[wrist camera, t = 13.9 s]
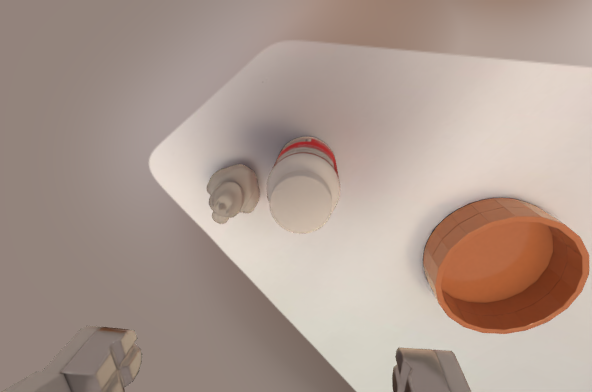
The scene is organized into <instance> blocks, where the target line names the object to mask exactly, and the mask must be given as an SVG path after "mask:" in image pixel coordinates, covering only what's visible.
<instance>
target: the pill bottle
mask: <svg viewBox="0 0 592 392" xmlns="http://www.w3.org/2000/svg"><path fill="white" fill-rule="evenodd" d="M339 195H340V182H339V177H338V172H337V166H336V161H335V157H334V154H333V152H332V150H331V149H330V148H329V146H328V145H327V144H326V143H324V142H323V141H321V140H319V139H317V138H314V137H299V138H296V139H294V140H292V141H290V142H289V143H287V144H286V145H285V146H284V148H283V149H282V150H281V152H280V154H279V156H278V158H277V160H276V162H275V164H274V167H273V169H272V171H271V172H270V175H269V177H268V181H267V197H268V200H269V203H270V210H271V214H272V216H273V218H274V219H275V221H276V222H277V223H278V224H279V225H280V226H281V227H282V228H284V229H286V230H288V231H290V232H293V233H301V234H302V233H310V232H313V231H316V230H317V229H319V228H321V227H322V226H323V225H324V224H325V223H326V222H327V220H328V219H329V217H330V215H331V212H332V211H333V210H334V208H335V207H336V205H337V202H338V200H339Z"/></svg>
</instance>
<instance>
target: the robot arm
mask: <svg viewBox="0 0 592 392" xmlns="http://www.w3.org/2000/svg"><path fill="white" fill-rule="evenodd" d="M136 340H137V335H136V333H135V331H134V330H128V329H118V328H108V327H96V326H86V327H84V328H82V329H80V330H79V332H78V333H77V334H76V335H75V336H74V337H73V338H72V339H71V340H70V341H69V342H68V343H67V345H66V346H65V347H64V348H63V349H62V350H61V351H60V352H59V353H58V354H57V355H56V357H55V358H54V359H53V360H52V361H51V362H50V363H49V364H48V365H47V366H46V368H44V370H43V371H42V372H35V373H33V374H31V375H30V376H28V377H26V378H25V379H23V380H21V381H19V382H18V383H16V384H14V385H12V386H10V387H9V388H7V389H5V390H3V391H2V392H124V387H126V386H127V385H129V384H130V383H131V382H133V381H134V379H135V377H136V375H137V374H138V372H139V369H140V366H141V362H142V353H141V349H140V348H139V347H138V346H137V345H136V344H135V341H136ZM396 361H397V365H396V366H395V367H394V368H393V392H471V390H470V388H469V385H468V383H467V381H466V379H465V376H464V374H463V372H462V370H461V368H460V365H459V363H458V361H457V359H456V356H455V354H454V353H453V352H452V351H443V350H432V349H414V348H398V349H397V351H396Z"/></svg>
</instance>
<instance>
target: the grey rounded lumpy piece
mask: <svg viewBox="0 0 592 392" xmlns="http://www.w3.org/2000/svg"><path fill="white" fill-rule="evenodd" d="M207 192H208V193H209V194H210V195H211V196H210V199H209V205H210V207H211V209H212V210H213V213H212V218H213V220H214V221H215V222H217V223H220V224H224V223H226V222H227V221H228V219H229V218H231V217H234V216H235V215H237V214H238V213H239V212H244V213H251V212H252V211H253V210H254V208H255V207H256V205H257V203H258V201H259V197H260V191H259V187H258V180H257V178H256V175H255V173H254V171H252V170H251V169H250V168H248V167H246V166H244V165H241V164H238V165H233V166H230V167H228V168H224V169H221V170H219V171H217V172H216V173H215V174H213V175H212V177H211V178H210V180H209V183H208V185H207Z"/></svg>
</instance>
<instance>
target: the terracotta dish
mask: <svg viewBox="0 0 592 392" xmlns="http://www.w3.org/2000/svg"><path fill="white" fill-rule="evenodd" d="M423 265H424V270H425V274H426V278H427V280H428V282H429V284H430V286H431V288H432V290H433V292H434V294H435V296H436V299H437V301H438V303H439V304H440V306H441V307H442V308H443V310H444V311H445V313H446V314H447V315H448V316H449V317H450V318H451V319H453V320H454V321H456V322H457V323H459V324H460V325H462V326H463V327H466V328H469V329H472V330H475V331H479V332H482V333H497V334H507V333H513V332H519V331H525V330H528V329H531V328H533V327H536V326H538V325H541V324H544V323H546V322H548V321H550V320H551V319H553V318H554V317H556V316H557V315H559V314H560V313H561V312H563V311H564V310H566V309H567V308H568V307H569V306H570V305H571V304H572V302H573V301H574V300H575V299H576V298H577V297H578V295H579V294H580V293H581V292H582V290H583V287H584V285H585V282H586V280H587V278H588V275H589V254H588V252H587V250H586V248H585V246H584V244H583V242H582V240H581V238H580V236H578V235H577V234H576V233H575V232H573V231H572V230H571V229H570V228H568V227H567V226H566V225H565V224H563V223H562V222H560V221H558V220H557V219H555V218H554V217H552V216H551V215H549V214H548V213H546V212H545V211H543V210H542V209H540V208H538V207H537V206H535V205H532V204H530V203H527V202H524V201H521V200H517V199H511V198H492V199H485V200H481V201H477V202H474V203H471V204H469V205H466V206H464V207H462V208H460V209H458V210H456V211H455V212H453V213H452V214H450V215H449V216H448V217H446V218H445V219H444V220H443V221H442V222H441V223H440V224H439V225H438V226H437V227H436V228H435V230H434V231H433V232H432V234H431V236H430V237H429V239H428V241H427V244H426V246H425V250H424V256H423Z"/></svg>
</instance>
